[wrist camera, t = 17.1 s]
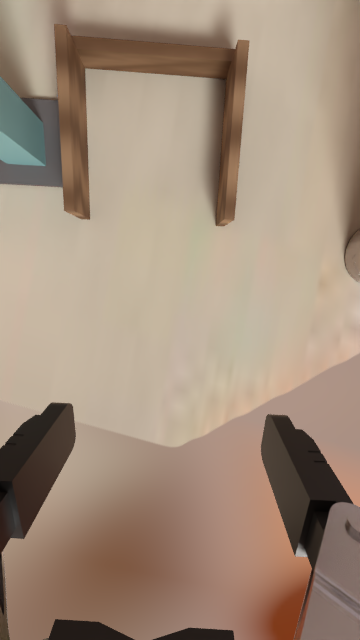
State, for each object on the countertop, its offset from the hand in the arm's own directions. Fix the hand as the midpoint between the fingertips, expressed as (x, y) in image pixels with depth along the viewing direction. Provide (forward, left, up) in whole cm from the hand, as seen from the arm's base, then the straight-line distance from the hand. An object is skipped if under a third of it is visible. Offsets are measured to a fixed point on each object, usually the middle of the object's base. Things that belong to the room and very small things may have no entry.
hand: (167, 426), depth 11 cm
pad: (+6, -28, -30) cm, 41 cm away
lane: (-8, -20, -30) cm, 36 cm away
